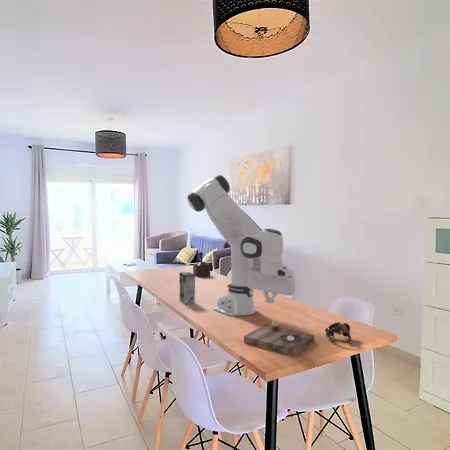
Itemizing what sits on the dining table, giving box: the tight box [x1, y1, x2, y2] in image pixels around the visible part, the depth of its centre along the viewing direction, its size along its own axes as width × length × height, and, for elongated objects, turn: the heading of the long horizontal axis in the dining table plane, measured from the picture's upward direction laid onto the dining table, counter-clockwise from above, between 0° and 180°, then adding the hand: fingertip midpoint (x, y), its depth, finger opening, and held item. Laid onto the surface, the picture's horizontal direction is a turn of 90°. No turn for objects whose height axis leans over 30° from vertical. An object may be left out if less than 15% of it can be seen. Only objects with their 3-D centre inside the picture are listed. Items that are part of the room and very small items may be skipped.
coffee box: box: [179, 271, 196, 305], centre depth 193 cm, size 9×6×16 cm
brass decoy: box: [270, 320, 280, 329], centre depth 143 cm, size 4×4×4 cm
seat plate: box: [243, 323, 315, 357], centre depth 135 cm, size 22×18×2 cm
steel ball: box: [286, 335, 295, 341], centre depth 132 cm, size 4×4×4 cm
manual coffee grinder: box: [192, 251, 211, 279], centre depth 271 cm, size 16×11×18 cm
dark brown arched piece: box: [324, 321, 353, 344], centre depth 138 cm, size 12×10×8 cm
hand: (269, 302), depth 138 cm, fingers closed
